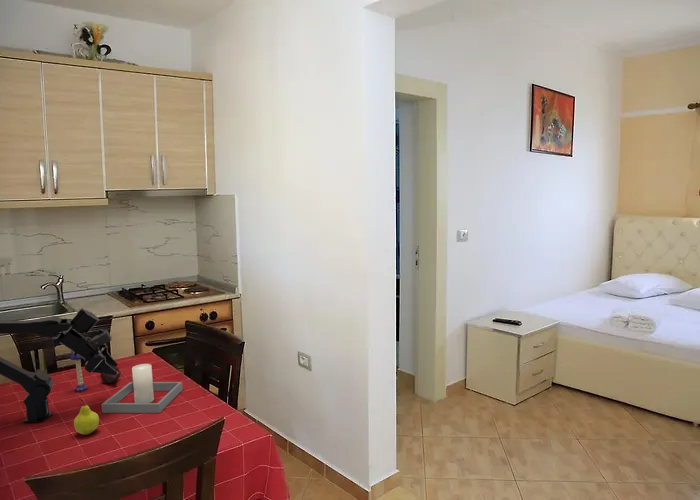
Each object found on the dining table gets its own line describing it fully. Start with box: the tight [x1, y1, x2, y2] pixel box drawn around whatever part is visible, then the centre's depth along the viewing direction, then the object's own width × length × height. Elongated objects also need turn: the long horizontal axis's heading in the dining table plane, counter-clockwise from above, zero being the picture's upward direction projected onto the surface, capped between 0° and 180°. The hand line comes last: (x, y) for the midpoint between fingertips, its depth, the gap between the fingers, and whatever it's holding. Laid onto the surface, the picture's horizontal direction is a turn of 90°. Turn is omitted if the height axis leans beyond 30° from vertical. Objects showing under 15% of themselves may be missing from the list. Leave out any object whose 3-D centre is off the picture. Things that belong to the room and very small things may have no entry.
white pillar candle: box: [131, 363, 155, 403], centre depth 185 cm, size 6×6×12 cm
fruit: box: [73, 397, 100, 436], centre depth 161 cm, size 7×7×12 cm
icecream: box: [100, 365, 122, 384], centre depth 204 cm, size 7×7×15 cm
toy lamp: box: [69, 350, 89, 393], centre depth 196 cm, size 5×5×17 cm
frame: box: [101, 381, 184, 414], centre depth 185 cm, size 20×20×3 cm
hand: (116, 369), depth 181 cm, fingers open, 9 cm apart
